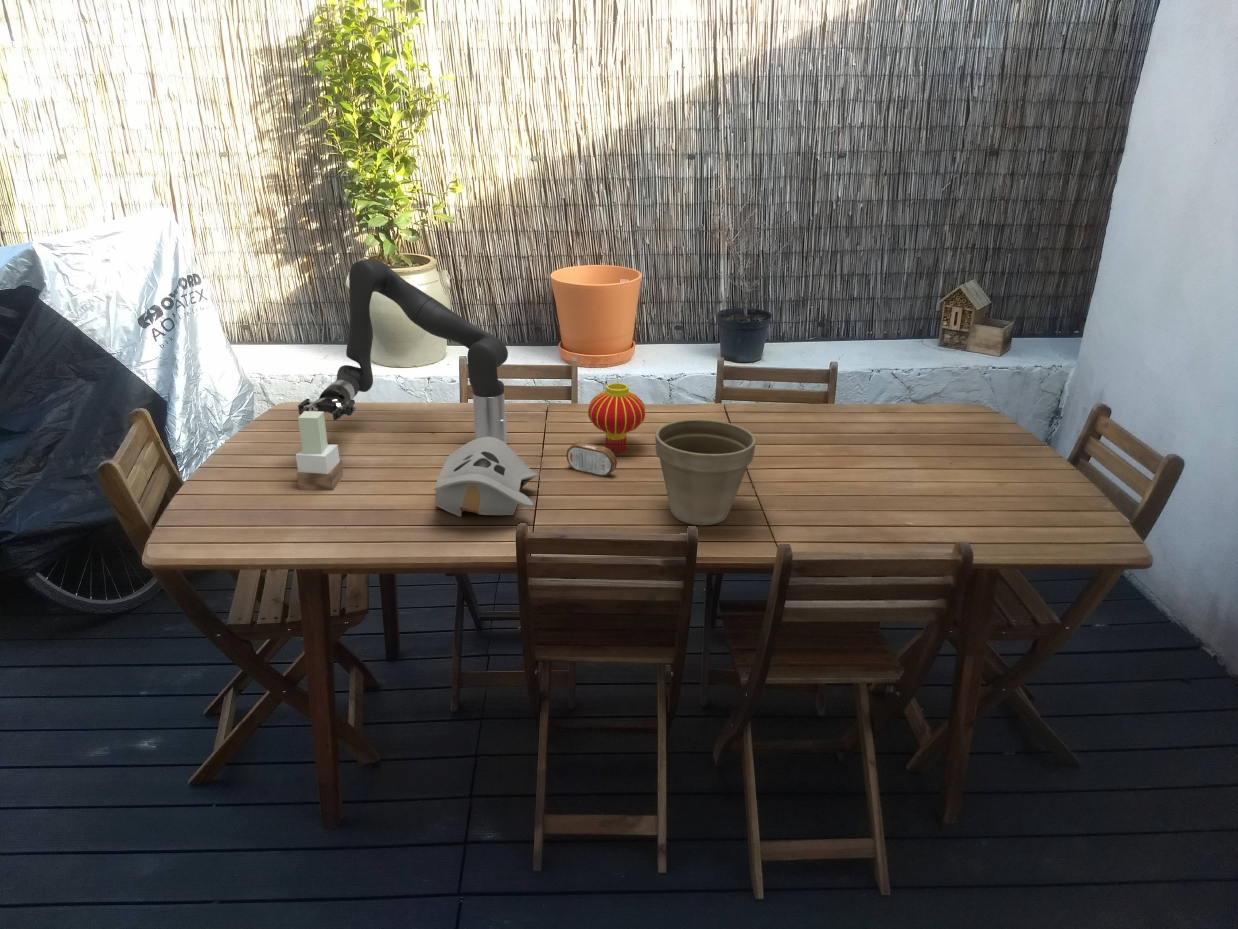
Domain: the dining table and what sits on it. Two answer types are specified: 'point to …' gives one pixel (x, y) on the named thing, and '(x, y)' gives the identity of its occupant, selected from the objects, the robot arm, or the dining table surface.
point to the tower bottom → (320, 479)
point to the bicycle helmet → (483, 479)
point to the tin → (591, 459)
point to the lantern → (616, 413)
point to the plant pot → (703, 467)
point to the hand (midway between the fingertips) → (318, 416)
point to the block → (313, 432)
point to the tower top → (318, 460)
